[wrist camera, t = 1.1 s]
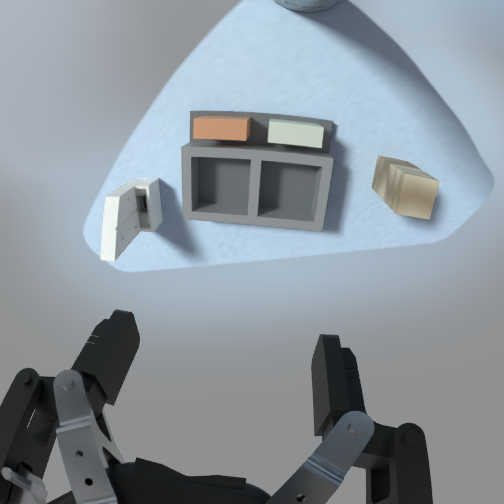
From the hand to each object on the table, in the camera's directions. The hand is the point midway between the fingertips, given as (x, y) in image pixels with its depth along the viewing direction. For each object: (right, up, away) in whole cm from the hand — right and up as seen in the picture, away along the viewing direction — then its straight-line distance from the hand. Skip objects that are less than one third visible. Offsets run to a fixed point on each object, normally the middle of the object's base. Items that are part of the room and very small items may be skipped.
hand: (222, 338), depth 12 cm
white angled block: (-12, +10, +23) cm, 28 cm away
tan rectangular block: (+17, +13, +19) cm, 29 cm away
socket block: (+2, +13, +20) cm, 24 cm away
